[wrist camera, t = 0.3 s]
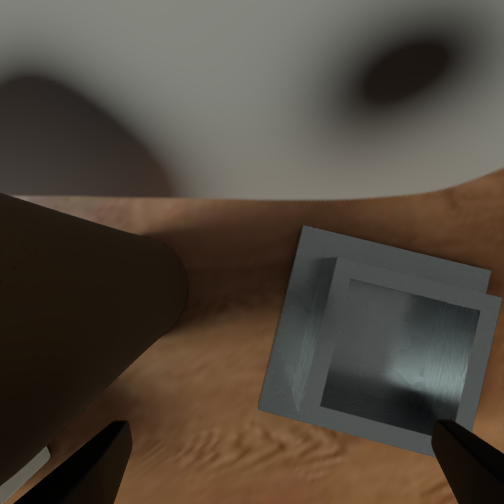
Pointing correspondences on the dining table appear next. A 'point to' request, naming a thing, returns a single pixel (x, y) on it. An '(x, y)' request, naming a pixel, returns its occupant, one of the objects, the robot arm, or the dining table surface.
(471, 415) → the square open box
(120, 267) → the olive oil
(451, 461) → the robot arm
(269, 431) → the dining table surface
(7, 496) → the container
